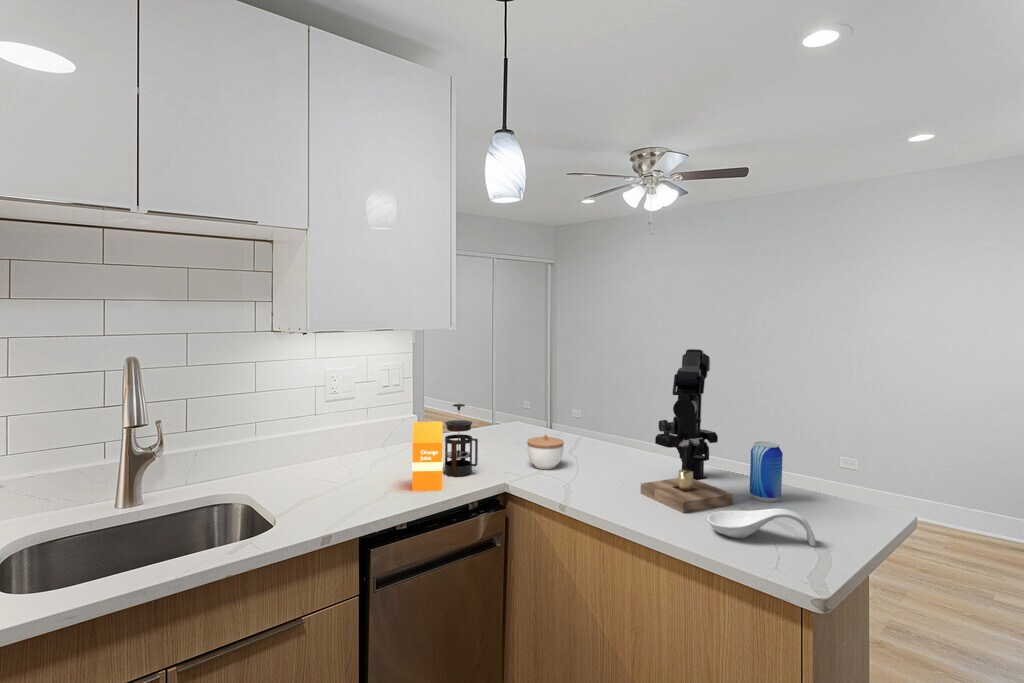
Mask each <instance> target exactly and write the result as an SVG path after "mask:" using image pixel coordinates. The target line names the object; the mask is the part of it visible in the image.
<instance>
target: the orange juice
mask: <svg viewBox="0 0 1024 683" xmlns="http://www.w3.org/2000/svg"><path fill="white" fill-rule="evenodd" d="M412 427H413V428H412V430H413V431H412V462H411V463H412V464H411V465H412V466H411V467H412V483H411V484H412V485H411V486H412V492H427V491H428V492H432V491H434V492H435V491H437V492H439V491H443V469H444V468H443V464H444V463H443V459H444V457H443V454H444V453H443V452H444V449H443V448H444V447H443V440H444V439H443V438H444V436H443V421H413V426H412Z"/></svg>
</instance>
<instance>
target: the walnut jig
mask: <svg viewBox="0 0 1024 683" xmlns="http://www.w3.org/2000/svg"><path fill="white" fill-rule="evenodd" d="M640 494H641V495H642V496H645V497H647V498H650V499H651V500H653V501H655V502H658V503H659V504H660V503H661V504H662V505H664V506H666V507H669V508H671V509H674V510H676V511H678V512H679V513H682V514H686V513H687V514H688V513H692V511H693V512H697V511H703V510H707V509H713V508H718V507H719V506H720V507H724V506H729V504H731V505H733V500H734V499H733V498H734V497H733V495H734V493H732V492H729V491H727V490H725V489H721V488H718V487H716V486H714V485H710V484H708V483H706V482H703V481H700V480H699V479H696V480H695V479H693V491H691V492H682V491H680V490H678V477H677V478H676V477H675V478H669V479H662V480H656V481H649V482H643V483H642V482H641V483H640Z"/></svg>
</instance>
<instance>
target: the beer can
mask: <svg viewBox="0 0 1024 683" xmlns="http://www.w3.org/2000/svg"><path fill="white" fill-rule="evenodd" d="M752 446H753V447H752V448H751V450H750V465H749V466H750V469H749V493H750V495H751V497H752V498H753V499H754V498H755V499H754V500H756V499H757V501H759V500H761V501H760V502H764V501H766V502H765V503H774V502H775V501H776V502H778V501H779V500H780V498H781V497H782V484H783V483H782V482H783V480H782V479H783V451H782V449H781V448H780V444H778V443H776V442H771V441H755V442H754V445H752ZM776 502H775V503H776Z"/></svg>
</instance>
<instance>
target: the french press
mask: <svg viewBox="0 0 1024 683" xmlns="http://www.w3.org/2000/svg"><path fill="white" fill-rule="evenodd" d="M452 406H453V407H456V409H457V414H458V415H457V417H458V418H457V419H458V420H457V419H454V420H448V421H445V422H444V425H446V429H447V431H448V432H455V433H457V434H449V435H446V436H445V437H444V443H445V444H444V471H443V474H444V476H447V477H450V478H451V477H452V478H464V477H468V476H471V475H472V474H473V467H477V466H478V461H479V460H478V458H479V456H478V453H479V452H478V451H479V449H478V446H479V439H478V438H473V436H472V435H469V434H460V432H468V431H471V429H472V425H473V422H472V421H471V420H464V419H460V411H461V407H465V406H466V404H464V403H455V404H452ZM473 441H475V442H474V445H475V448H474V463H473ZM448 444H449V445H451V448H450V449H451V450H450V451H449V450H448V448H449V447H448ZM466 444H469V451H466ZM448 451H449V452H448ZM468 458H469V460H466V459H468ZM448 459H451V460H448Z"/></svg>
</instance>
